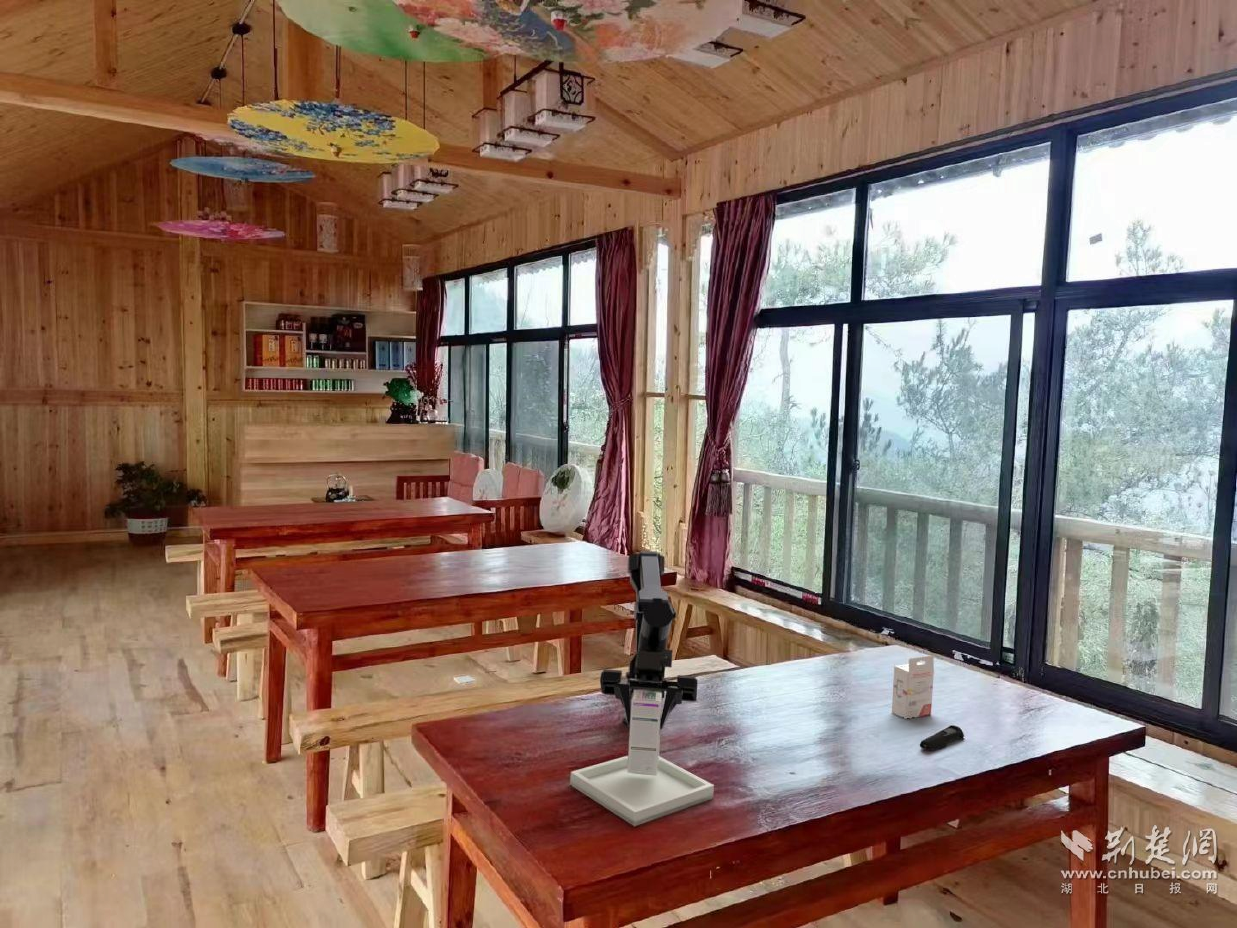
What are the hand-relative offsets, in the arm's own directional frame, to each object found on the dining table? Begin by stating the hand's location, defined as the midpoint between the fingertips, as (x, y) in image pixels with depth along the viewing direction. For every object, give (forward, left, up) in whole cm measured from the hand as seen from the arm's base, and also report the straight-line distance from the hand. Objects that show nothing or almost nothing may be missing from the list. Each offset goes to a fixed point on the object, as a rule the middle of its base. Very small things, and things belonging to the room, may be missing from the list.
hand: (645, 726), depth 165 cm
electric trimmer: (+20, +70, -12) cm, 74 cm away
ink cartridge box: (+6, +80, -12) cm, 81 cm away
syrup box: (-1, +1, -9) cm, 9 cm away
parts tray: (+2, -2, -12) cm, 12 cm away
